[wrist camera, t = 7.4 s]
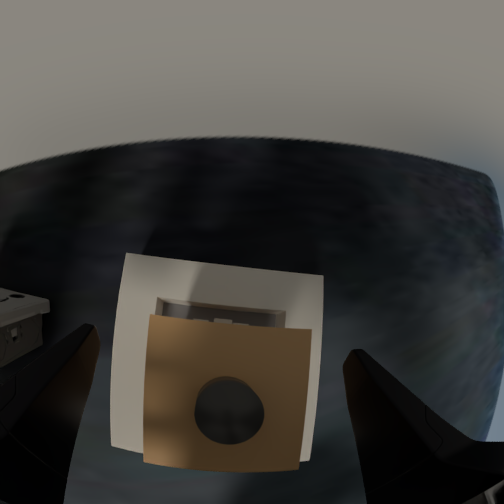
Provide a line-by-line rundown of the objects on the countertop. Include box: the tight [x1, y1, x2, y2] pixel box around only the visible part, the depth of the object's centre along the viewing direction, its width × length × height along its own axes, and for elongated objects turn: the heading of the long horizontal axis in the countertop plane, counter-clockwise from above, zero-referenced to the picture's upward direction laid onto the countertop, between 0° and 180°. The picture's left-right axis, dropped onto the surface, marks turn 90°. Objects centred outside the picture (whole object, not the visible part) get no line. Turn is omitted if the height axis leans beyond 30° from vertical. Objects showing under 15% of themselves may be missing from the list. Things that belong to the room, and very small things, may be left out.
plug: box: [143, 314, 312, 472], centre depth 12 cm, size 6×5×12 cm
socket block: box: [110, 253, 323, 462], centre depth 17 cm, size 13×13×3 cm
